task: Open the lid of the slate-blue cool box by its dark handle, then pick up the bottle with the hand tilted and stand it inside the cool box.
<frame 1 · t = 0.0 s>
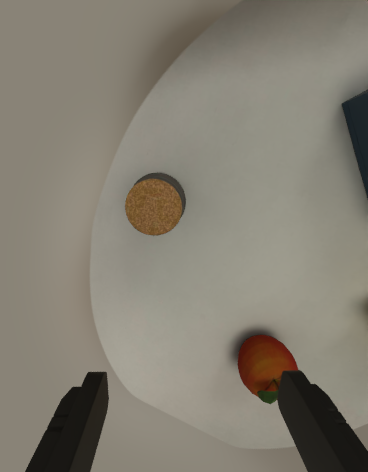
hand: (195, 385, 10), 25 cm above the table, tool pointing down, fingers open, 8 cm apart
fruit: (256, 346, 40), on the table
bottle: (162, 194, 32), on the table
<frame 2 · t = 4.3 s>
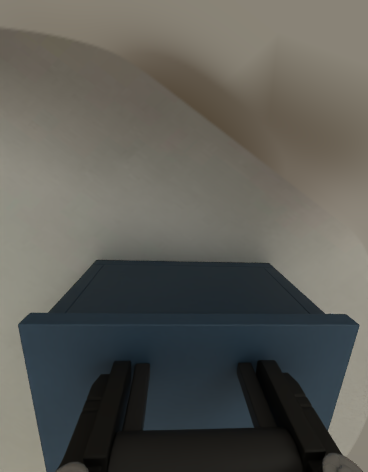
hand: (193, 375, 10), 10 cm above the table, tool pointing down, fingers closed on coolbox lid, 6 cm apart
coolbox: (181, 342, 22), on the table
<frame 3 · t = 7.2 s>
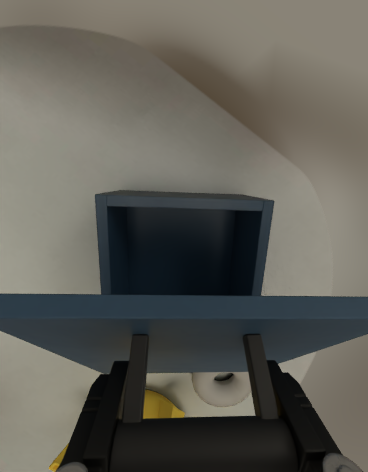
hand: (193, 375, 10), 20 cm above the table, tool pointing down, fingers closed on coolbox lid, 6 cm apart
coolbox: (180, 257, 30), on the table
donut: (221, 366, 35), on the table
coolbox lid: (186, 389, 14), point 17 cm above the table, hinge at 38.0°, touching gripper
teapot: (140, 417, 37), on the table
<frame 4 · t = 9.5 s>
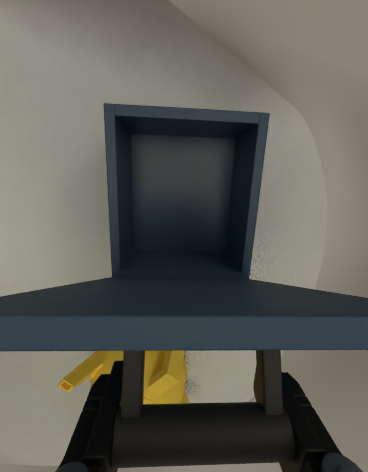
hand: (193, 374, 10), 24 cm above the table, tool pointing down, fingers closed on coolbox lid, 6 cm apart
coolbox: (181, 196, 31), on the table
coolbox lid: (187, 324, 15), point 19 cm above the table, hinge at 67.3°, touching gripper
teapot: (142, 360, 38), on the table
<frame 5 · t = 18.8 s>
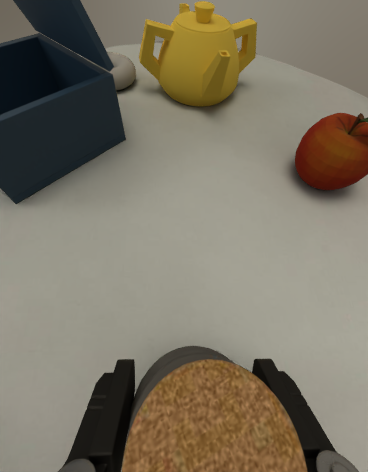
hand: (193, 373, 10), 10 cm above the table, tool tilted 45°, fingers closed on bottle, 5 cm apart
fruit: (314, 177, 33), on the table
bottle: (182, 389, 18), on the table, touching gripper
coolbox: (45, 141, 33), on the table
donut: (111, 82, 43), on the table
teapot: (196, 89, 43), on the table
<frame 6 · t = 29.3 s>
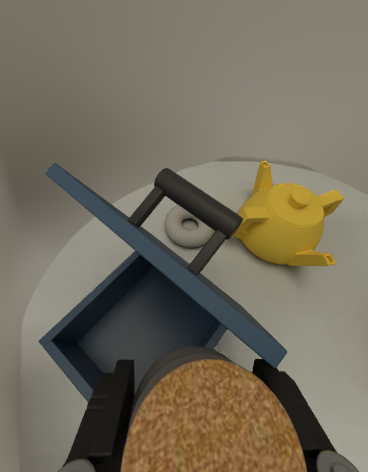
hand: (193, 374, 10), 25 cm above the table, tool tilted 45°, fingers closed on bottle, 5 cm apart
bottle: (182, 389, 18), point 14 cm above the table, touching gripper
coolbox: (150, 331, 34), on the table
donut: (189, 228, 44), on the table
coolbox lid: (192, 245, 20), point 19 cm above the table, hinge at 69.2°, touching gripper
teapot: (270, 233, 44), on the table
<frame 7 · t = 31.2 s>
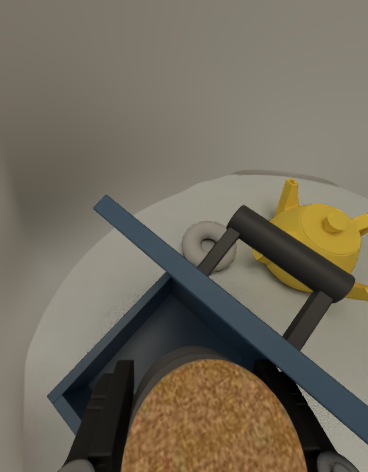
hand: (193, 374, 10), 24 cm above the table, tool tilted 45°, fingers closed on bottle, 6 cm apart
bottle: (182, 389, 18), point 13 cm above the table, touching gripper
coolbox: (168, 370, 30), on the table
donut: (207, 249, 40), on the table
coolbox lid: (242, 288, 17), point 19 cm above the table, hinge at 73.2°, touching gripper, hand
teapot: (294, 255, 41), on the table
when the fingers open (11 cm above the table, at t = 35.8 s): bottle stays where it is, resting on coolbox.
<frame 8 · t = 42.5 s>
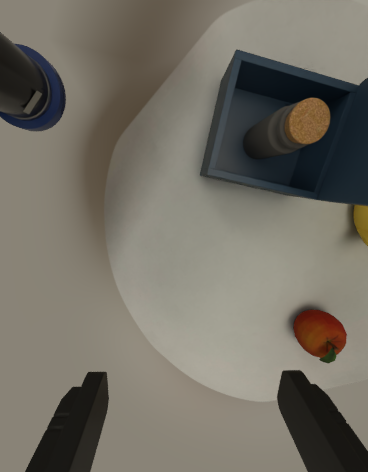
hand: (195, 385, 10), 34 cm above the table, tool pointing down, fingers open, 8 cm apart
fruit: (306, 319, 50), on the table
bottle: (258, 142, 38), point 1 cm above the table, touching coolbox
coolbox: (257, 141, 39), on the table
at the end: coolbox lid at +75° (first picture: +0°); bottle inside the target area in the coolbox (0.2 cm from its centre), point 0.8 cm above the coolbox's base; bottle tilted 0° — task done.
